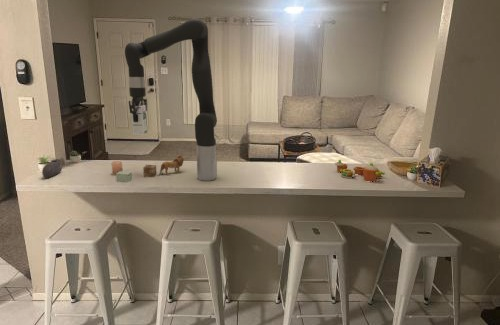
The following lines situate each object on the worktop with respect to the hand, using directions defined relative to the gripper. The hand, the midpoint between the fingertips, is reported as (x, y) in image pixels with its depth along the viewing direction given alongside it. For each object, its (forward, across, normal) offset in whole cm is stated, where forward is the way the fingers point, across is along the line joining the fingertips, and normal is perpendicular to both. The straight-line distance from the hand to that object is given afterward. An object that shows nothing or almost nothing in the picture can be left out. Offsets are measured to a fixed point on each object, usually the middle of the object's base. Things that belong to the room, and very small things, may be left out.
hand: (139, 120), depth 177 cm
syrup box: (+7, 0, 0) cm, 7 cm away
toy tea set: (+29, +27, -109) cm, 116 cm away
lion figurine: (+28, +6, -14) cm, 32 cm away
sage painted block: (+28, -12, +3) cm, 30 cm away
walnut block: (+28, -1, -5) cm, 28 cm away
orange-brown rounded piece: (+28, -3, +12) cm, 30 cm away
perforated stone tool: (+28, -14, +41) cm, 52 cm away
